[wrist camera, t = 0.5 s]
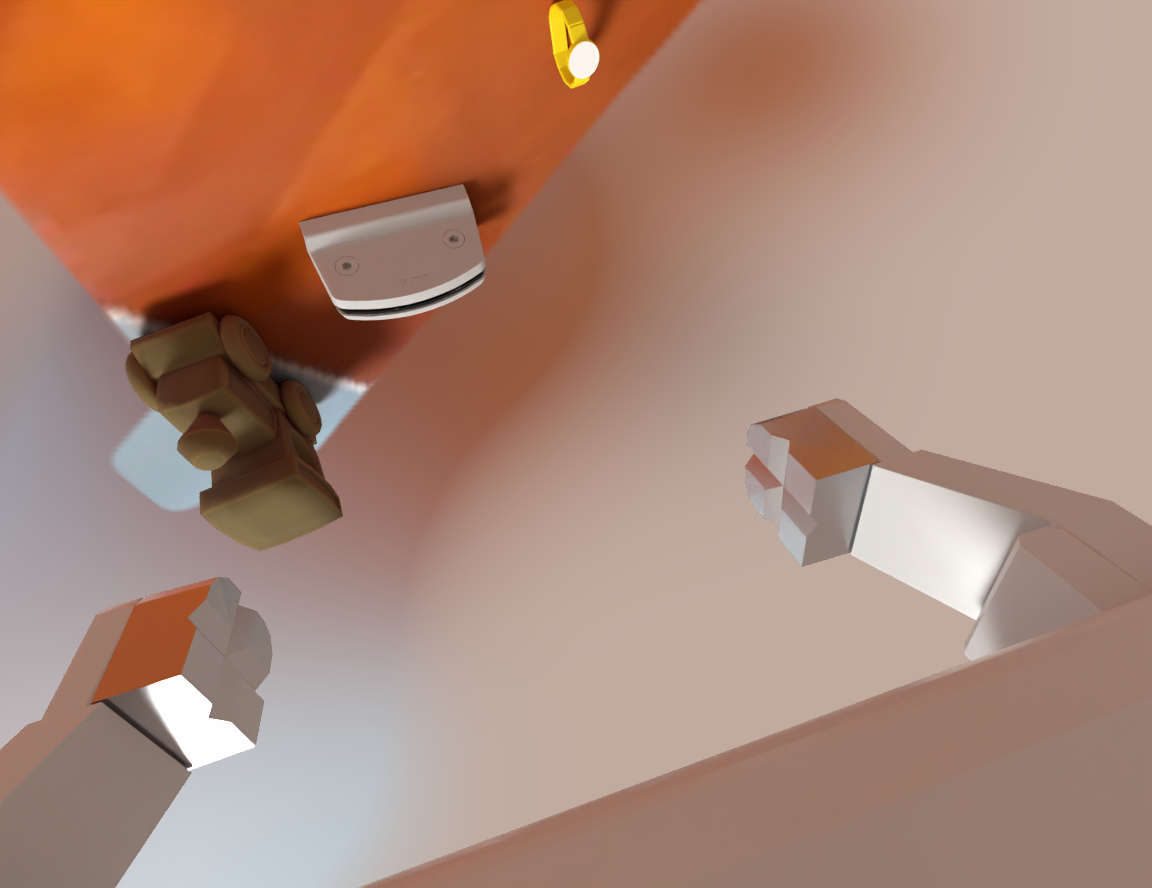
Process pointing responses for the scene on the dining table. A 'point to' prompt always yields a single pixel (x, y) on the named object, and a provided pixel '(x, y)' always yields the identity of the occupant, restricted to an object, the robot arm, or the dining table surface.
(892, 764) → the robot arm
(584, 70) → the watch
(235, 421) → the wooden toy train
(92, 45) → the dining table surface
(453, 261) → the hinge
